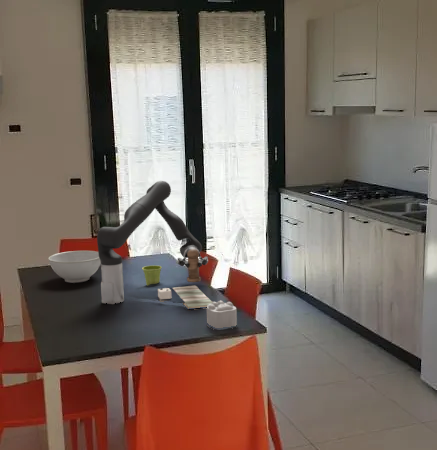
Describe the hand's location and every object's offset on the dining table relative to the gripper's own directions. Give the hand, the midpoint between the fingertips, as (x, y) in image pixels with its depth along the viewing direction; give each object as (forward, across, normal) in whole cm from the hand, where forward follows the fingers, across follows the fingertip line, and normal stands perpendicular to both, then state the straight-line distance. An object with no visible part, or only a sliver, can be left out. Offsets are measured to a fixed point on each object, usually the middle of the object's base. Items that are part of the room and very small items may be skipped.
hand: (193, 265), depth 279 cm
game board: (-6, -1, +17) cm, 18 cm away
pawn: (-3, 0, +8) cm, 8 cm away
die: (-5, -13, +17) cm, 22 cm away
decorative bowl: (-51, -57, +17) cm, 78 cm away
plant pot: (-33, -19, +17) cm, 42 cm away
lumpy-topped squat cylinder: (+31, +9, +17) cm, 36 cm away
